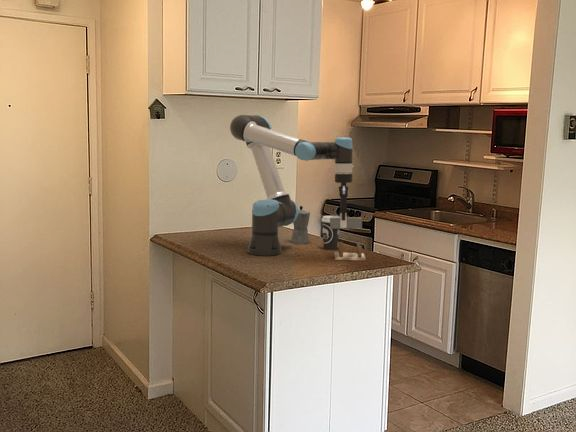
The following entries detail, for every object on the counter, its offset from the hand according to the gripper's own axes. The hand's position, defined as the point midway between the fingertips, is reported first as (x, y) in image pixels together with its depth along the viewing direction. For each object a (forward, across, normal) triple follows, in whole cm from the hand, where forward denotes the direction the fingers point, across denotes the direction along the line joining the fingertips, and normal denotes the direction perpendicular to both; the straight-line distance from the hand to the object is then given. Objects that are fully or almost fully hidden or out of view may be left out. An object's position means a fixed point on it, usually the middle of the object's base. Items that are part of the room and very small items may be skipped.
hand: (343, 226), depth 271 cm
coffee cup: (+13, +21, +6) cm, 25 cm away
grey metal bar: (0, 0, 0) cm, 1 cm away
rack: (+14, +1, -3) cm, 14 cm away
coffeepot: (+13, +34, +21) cm, 42 cm away
